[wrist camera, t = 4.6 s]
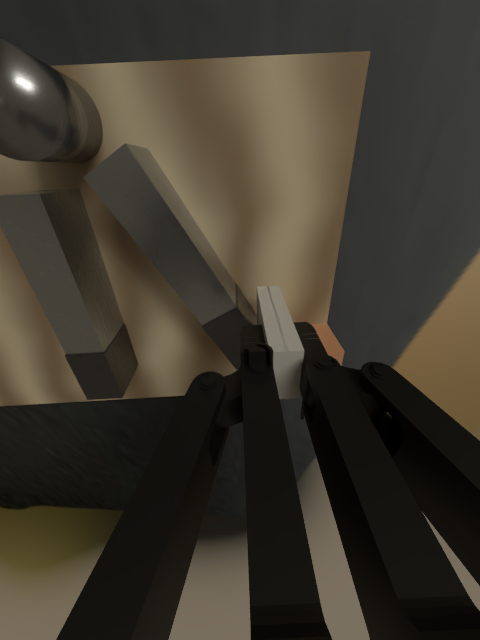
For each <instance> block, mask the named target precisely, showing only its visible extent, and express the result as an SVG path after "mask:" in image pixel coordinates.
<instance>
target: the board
mask: <svg viewBox="0 0 480 640" xmlns="http://www.w3.org/2000/svg"><path fill="white" fill-rule="evenodd" d="M369 57H370V51H361V52H339V53H318V54H297V55H275V56H254V57H233V58H212V59H190V60H169V61H148V62H126V63H105V64H84V65H63V66H51V67H52V68H54V69H56V70H58V71H59V72H61V73H63V74H65V75H66V76H68V77H70V78H71V79H73V80H74V81H76V82H77V83H78V84H80V85H81V86H82V87H83V88H84V89H85V90H86V92H87V93H88V94H89V95H90V97H91V98H92V100H93V101H94V103H95V105H96V107H97V109H98V112H99V114H100V117H101V121H102V127H103V138H102V144H101V147H100V149H99V151H98V153H97V154H96V155H95V156H94V157H93V158H92V159H90V160H89V161H86V162H83V163H62V162H38V161H20V160H14V159H11V158H8V157H5V156H3V155H1V154H0V195H2V194H11V193H20V192H29V191H40V190H60V189H80V191H81V194H82V197H83V200H84V203H85V206H86V209H87V212H88V216H89V219H90V222H91V225H92V228H93V231H94V234H95V237H96V240H97V243H98V246H99V249H100V252H101V255H102V258H103V261H104V264H105V267H106V270H107V273H108V276H109V279H110V282H111V285H112V288H113V291H114V294H115V297H116V300H117V303H118V306H119V309H120V312H121V315H122V318H123V321H124V324H125V325H126V328H127V331H128V334H129V337H130V340H131V343H132V346H133V349H134V352H135V355H136V358H137V361H138V366H137V368H136V371H135V373H134V375H133V377H132V379H131V381H130V383H129V386H128V388H127V390H126V392H125V394H124V396H123V398H114V399H96V400H87V398H86V396H85V394H84V393H83V391H82V389H81V387H80V385H79V383H78V381H77V379H76V377H75V375H74V373H73V371H72V369H71V367H70V366H69V364H68V362H67V360H66V358H65V355H66V353H65V352H64V350H63V348H62V346H61V344H60V342H59V340H58V338H57V336H56V334H55V332H54V330H53V328H52V326H51V324H50V322H49V320H48V318H47V316H46V314H45V313H44V311H43V309H42V307H41V305H40V303H39V301H38V299H37V297H36V295H35V293H34V291H33V289H32V287H31V285H30V283H29V281H28V279H27V277H26V275H25V274H24V272H23V270H22V268H21V266H20V264H19V262H18V260H17V258H16V256H15V254H14V252H13V250H12V248H11V246H10V244H9V242H8V240H7V238H6V236H5V235H4V233H3V231H2V229H1V227H0V406H12V405H29V404H47V403H64V402H81V401H99V400H116V399H133V398H151V397H168V396H185V394H186V392H187V390H188V388H189V386H190V384H191V382H192V381H193V379H194V378H195V377H196V376H198V375H199V374H201V373H204V372H210V371H214V372H217V373H220V374H221V375H222V376H223V377H224V376H227V375H230V374H232V373H234V372H235V371H237V370H238V369H237V370H236V369H235V367H234V366H233V365H232V364H231V362H230V361H229V360H228V359H227V357H226V356H225V355H224V354H223V352H222V351H221V350H220V349H219V348H218V346H217V345H216V344H215V343H214V341H213V340H212V339H211V338H210V336H209V335H208V334H207V333H206V331H205V330H204V329H203V328H202V324H201V323H200V322H199V320H198V319H197V318H196V317H195V315H194V314H193V313H192V312H191V310H190V309H189V308H188V307H187V305H186V304H185V303H184V302H183V300H182V299H181V298H180V297H179V296H178V294H177V293H176V292H175V291H174V289H173V288H172V287H171V286H170V284H169V283H168V282H167V281H166V279H165V278H164V277H163V276H162V274H161V273H160V272H159V271H158V269H157V268H156V267H155V266H154V264H153V263H152V262H151V261H150V259H149V258H148V257H147V256H146V254H145V253H144V252H143V251H142V249H141V248H140V247H139V246H138V244H137V243H136V242H135V241H134V239H133V238H132V237H131V236H130V234H129V233H128V232H127V231H126V229H125V228H124V227H123V226H122V225H121V223H120V222H119V221H118V220H117V218H116V217H115V216H114V215H113V213H112V212H111V211H110V210H109V208H108V207H107V206H106V205H105V203H104V202H103V201H102V200H101V198H100V197H99V196H98V195H97V193H96V192H95V191H94V190H93V188H92V187H91V186H90V185H89V183H88V182H87V181H86V180H85V178H84V176H86V175H87V174H88V173H89V172H90V171H92V170H93V169H94V168H95V167H96V166H98V165H99V164H100V163H101V162H103V161H104V160H105V159H106V158H107V157H109V156H110V155H111V154H112V153H114V152H115V151H116V150H117V149H118V148H120V147H121V146H122V145H123V144H124V143H127V144H131V145H135V146H139V147H143V148H147V149H149V150H150V152H151V154H152V155H153V157H154V158H155V160H156V161H157V163H158V164H159V166H160V167H161V169H162V171H163V172H164V174H165V175H166V177H167V178H168V180H169V181H170V183H171V184H172V186H173V187H174V189H175V191H176V192H177V194H178V195H179V197H180V198H181V200H182V201H183V203H184V204H185V206H186V208H187V209H188V211H189V212H190V214H191V215H192V217H193V218H194V220H195V221H196V223H197V224H198V226H199V228H200V229H201V231H202V232H203V234H204V235H205V237H206V238H207V240H208V241H209V243H210V245H211V246H212V248H213V249H214V251H215V252H216V254H217V255H218V257H219V258H220V260H221V261H222V263H223V265H224V266H225V268H226V269H227V271H228V272H229V274H230V275H231V277H232V278H233V280H234V282H235V283H237V285H238V286H239V288H240V289H241V291H242V293H243V294H244V296H245V297H246V299H247V300H248V302H249V303H250V305H251V307H252V308H253V310H254V311H255V313H256V314H257V287H259V286H278V285H279V288H280V290H281V293H282V295H283V298H284V300H285V303H286V305H287V308H288V310H289V313H290V315H291V318H292V320H293V322H308V323H309V324H326V323H327V319H328V313H329V307H330V300H331V294H332V288H333V282H334V275H335V269H336V263H337V257H338V250H339V244H340V238H341V232H342V225H343V219H344V213H345V207H346V200H347V194H348V188H349V182H350V175H351V169H352V163H353V157H354V150H355V144H356V138H357V132H358V125H359V119H360V113H361V107H362V100H363V94H364V88H365V82H366V75H367V69H368V63H369Z"/></svg>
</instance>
